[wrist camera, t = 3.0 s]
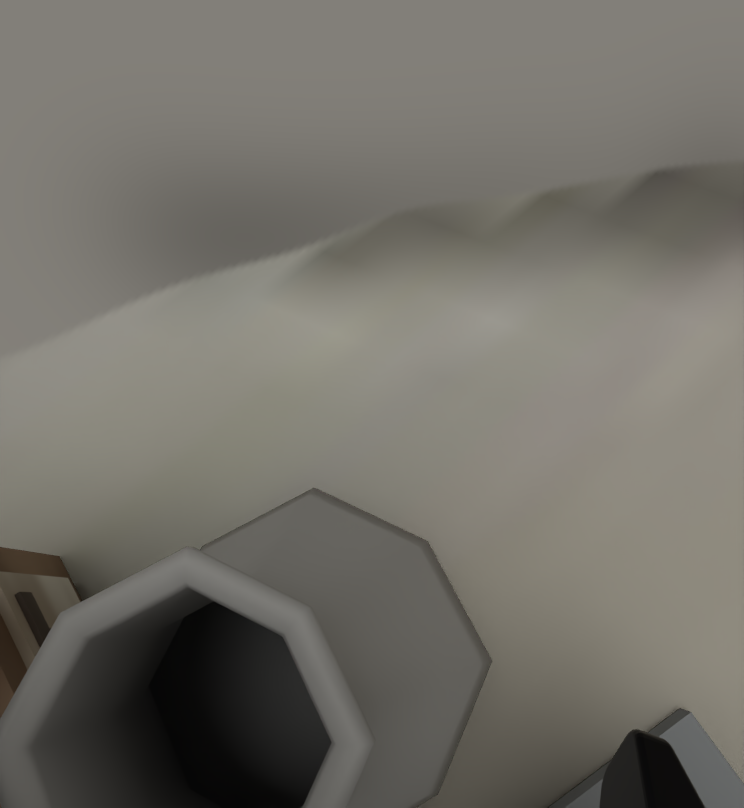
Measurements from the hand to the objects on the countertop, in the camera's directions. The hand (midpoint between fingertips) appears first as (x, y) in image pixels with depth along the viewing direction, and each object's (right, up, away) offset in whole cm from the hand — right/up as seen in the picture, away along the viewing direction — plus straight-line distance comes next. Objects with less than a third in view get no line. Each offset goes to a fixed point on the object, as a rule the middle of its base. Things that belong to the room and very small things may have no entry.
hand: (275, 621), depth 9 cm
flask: (0, -3, +7) cm, 7 cm away
